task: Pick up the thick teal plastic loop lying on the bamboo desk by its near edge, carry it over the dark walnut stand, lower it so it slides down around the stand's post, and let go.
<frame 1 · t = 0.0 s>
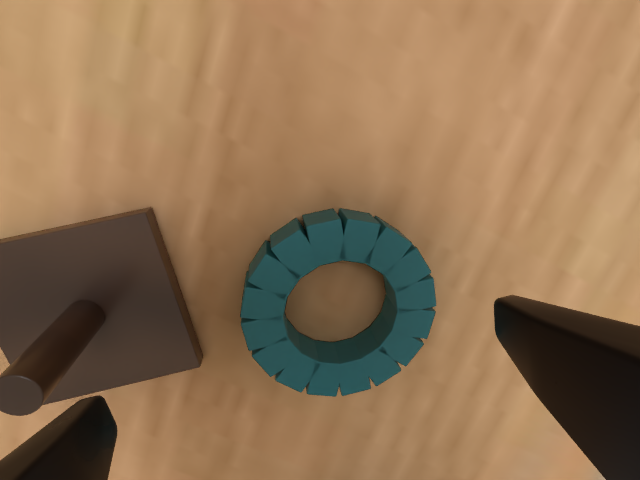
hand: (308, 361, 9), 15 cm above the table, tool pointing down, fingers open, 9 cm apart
hoop: (334, 296, 25), on the table
stand: (94, 305, 23), on the table
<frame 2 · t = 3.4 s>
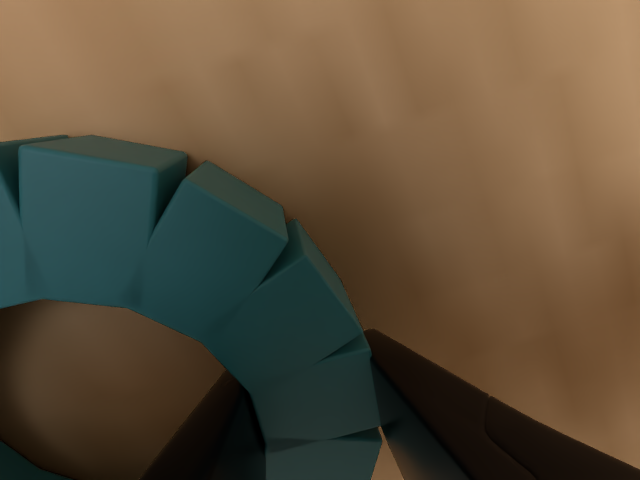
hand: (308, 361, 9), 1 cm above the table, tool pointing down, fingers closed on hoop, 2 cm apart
hoop: (124, 380, 9), on the table, touching gripper
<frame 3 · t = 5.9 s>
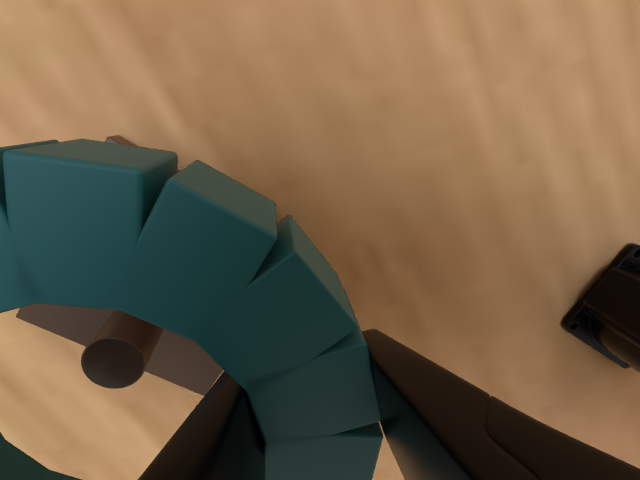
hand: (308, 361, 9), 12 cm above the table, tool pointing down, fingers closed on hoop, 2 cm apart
hoop: (127, 381, 10), point 11 cm above the table, touching gripper
stand: (168, 273, 20), on the table
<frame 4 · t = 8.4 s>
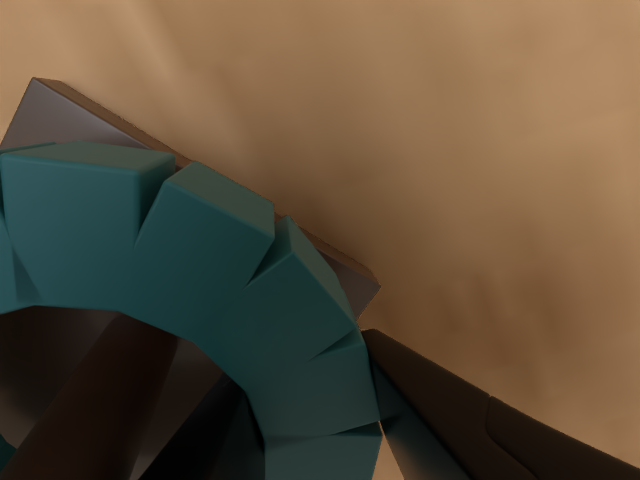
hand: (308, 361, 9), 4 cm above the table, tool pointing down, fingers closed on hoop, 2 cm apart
hoop: (127, 382, 10), point 3 cm above the table, touching gripper
stand: (151, 321, 12), on the table
when the fingers open (6 cm above the table, at t = 12.5 s): hoop drops 4 cm, resting on stand.
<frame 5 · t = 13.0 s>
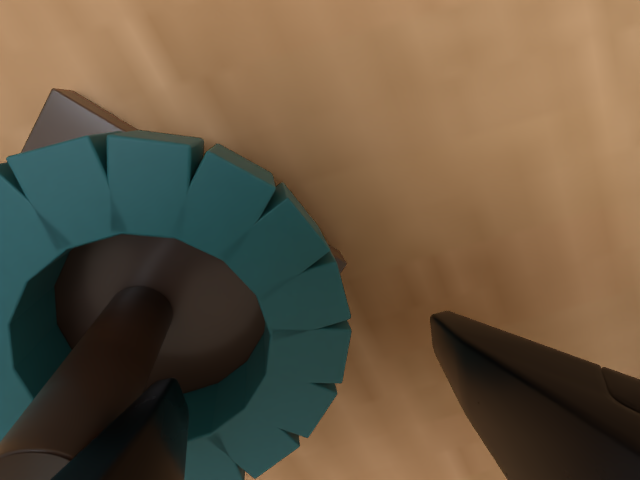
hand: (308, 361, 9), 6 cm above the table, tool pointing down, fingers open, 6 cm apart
hoop: (166, 309, 13), point 1 cm above the table, touching stand
stand: (150, 297, 14), on the table
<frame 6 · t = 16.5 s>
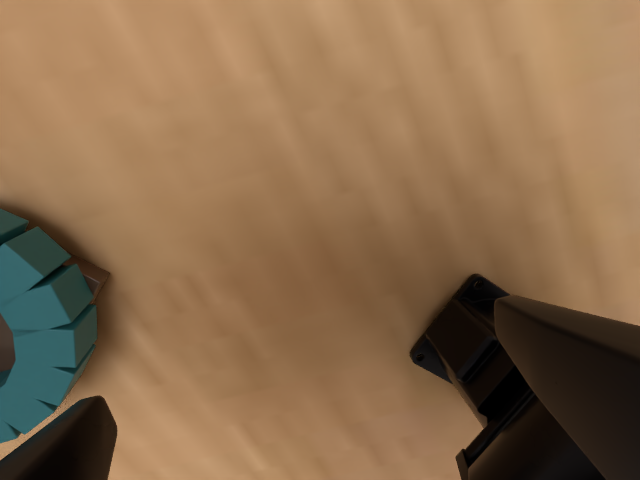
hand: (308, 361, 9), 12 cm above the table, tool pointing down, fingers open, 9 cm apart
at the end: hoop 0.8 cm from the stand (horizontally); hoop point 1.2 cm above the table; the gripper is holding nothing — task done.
